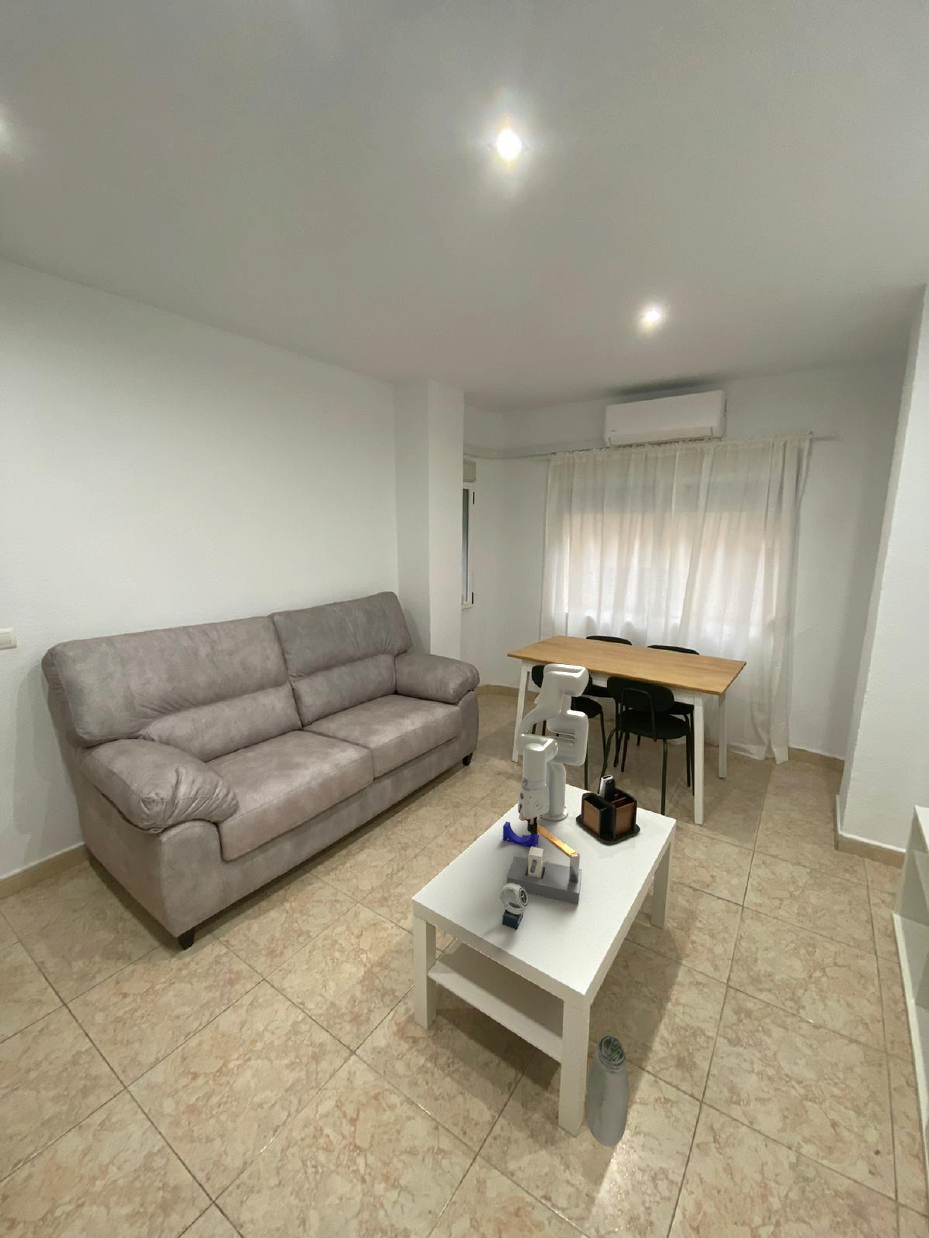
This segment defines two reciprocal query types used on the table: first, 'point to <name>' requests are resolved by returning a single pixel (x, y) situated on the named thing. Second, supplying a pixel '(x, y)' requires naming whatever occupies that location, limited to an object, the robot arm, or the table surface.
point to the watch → (514, 905)
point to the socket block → (546, 881)
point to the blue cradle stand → (514, 838)
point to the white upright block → (535, 862)
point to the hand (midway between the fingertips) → (532, 832)
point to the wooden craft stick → (565, 849)
